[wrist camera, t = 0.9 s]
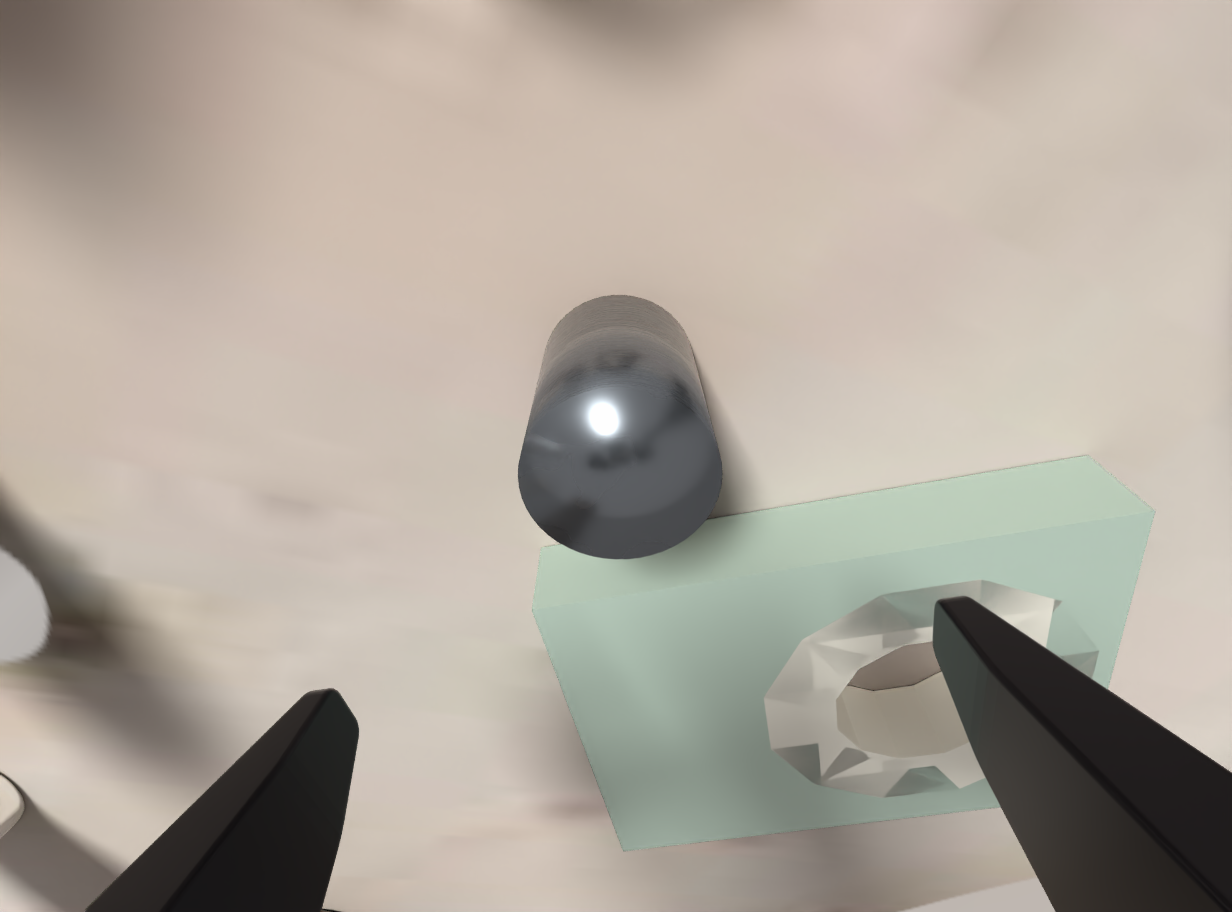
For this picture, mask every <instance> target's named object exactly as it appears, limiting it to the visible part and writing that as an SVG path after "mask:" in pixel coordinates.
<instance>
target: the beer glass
mask: <svg viewBox="0 0 1232 912" xmlns="http://www.w3.org/2000/svg"><path fill="white" fill-rule="evenodd" d="M23 812H24V801H23V798H22V795H21V794H20V792H19V791H18V789H17V788H16V787H15V786H14V785H13V784H12V783H11V782H10V781H9V780H8V779H6V778H5V777H4V776H2V775H1V774H0V838H1V837H3V836H4V835H5V834H6V833H7V832H8V831H9V830H10V829H11V828H12V827H13V826H14V825H15V824H16V822H17V821H18V820H19V819H20V817H21V816H22V814H23Z"/></svg>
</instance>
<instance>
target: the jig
mask: <svg viewBox="0 0 1232 912" xmlns="http://www.w3.org/2000/svg"><path fill="white" fill-rule="evenodd" d="M1154 514H1155V510H1154V509H1153V508H1151V507H1150V506H1149V505H1148V504H1147V503H1145V502H1144V501H1143V500H1142V499H1141V498H1139V497H1138V496H1137V495H1136V494H1135V493H1133V492H1132V491H1131V490H1130V489H1129V488H1127V487H1126V486H1125V485H1124V484H1123V483H1121V482H1120V481H1119V480H1118V479H1117V478H1115V477H1114V476H1113V475H1112V474H1111V473H1109V472H1108V471H1107V470H1106V469H1105V468H1103V467H1102V466H1101V465H1100V464H1099V463H1097V462H1096V461H1095V460H1094V459H1093V458H1091V457H1090V456H1089V455H1086V456H1080V457H1075V458H1069V459H1063V460H1057V461H1051V462H1045V463H1039V464H1033V465H1027V466H1021V467H1015V468H1009V469H1004V470H998V471H992V472H986V473H980V474H974V475H968V476H962V477H956V478H950V479H944V480H939V481H933V482H927V483H921V484H915V485H909V486H903V487H897V488H891V489H885V490H879V491H873V492H868V493H862V494H856V495H850V496H844V497H838V498H832V499H826V500H820V501H814V502H808V503H802V504H797V505H791V506H785V507H779V508H773V509H767V510H761V511H755V512H749V513H743V514H737V515H731V516H726V517H720V518H714V519H708V520H705V522H704V523H703V524H702V525H701V526H700V527H699V528H698V529H697V530H696V531H695V532H694V533H693V534H692V535H691V536H689V537H688V538H687V539H685V540H684V541H682V542H681V543H679V544H677V545H676V546H674V547H672V548H670V549H667V550H665V551H663V552H660V553H657V554H654V555H651V556H646V557H641V558H634V559H605V558H598V557H593V556H589V555H586V554H582V553H579V552H577V551H574V550H572V549H570V548H568V547H566V546H564V545H562V544H560V545H554V546H548V547H542V548H541V552H540V558H539V565H538V572H537V578H536V585H535V592H534V598H533V605H532V612H533V614H534V617H535V620H536V622H537V625H538V628H539V630H540V633H541V636H542V638H543V641H544V644H545V646H546V649H547V651H548V654H549V657H550V659H551V662H552V665H553V667H554V670H555V673H556V675H557V678H558V680H559V683H560V686H561V688H562V691H563V694H564V696H565V699H566V702H567V704H568V707H569V709H570V712H571V715H572V717H573V720H574V723H575V725H576V728H577V731H578V733H579V736H580V738H581V741H582V744H583V746H584V749H585V752H586V754H587V757H588V760H589V762H590V765H591V767H592V770H593V773H594V775H595V778H596V781H597V783H598V786H599V789H600V791H601V794H602V796H603V799H604V802H605V804H606V807H607V810H608V812H609V815H610V818H611V820H612V823H613V825H614V828H615V831H616V833H617V836H618V839H619V841H620V844H621V847H622V849H623V851H631V850H639V849H648V848H656V847H665V846H673V845H682V844H691V843H699V842H708V841H716V840H725V839H733V838H742V837H750V836H759V835H767V834H776V833H784V832H793V831H802V830H810V829H819V828H827V827H836V826H844V825H853V824H861V823H870V822H878V821H887V820H895V819H904V818H913V817H921V816H930V815H938V814H947V813H955V812H964V811H972V810H981V809H989V808H998V807H1001V806H1000V804H999V802H998V801H997V799H996V797H995V795H994V793H993V791H992V789H991V787H990V785H989V783H988V781H987V780H986V778H985V776H984V774H983V772H982V769H981V767H980V765H979V763H978V761H977V759H976V757H975V754H974V752H973V750H972V747H971V745H970V742H969V740H968V737H967V735H966V732H965V730H964V727H963V724H962V722H961V719H960V717H959V714H958V712H957V709H956V707H955V704H954V701H953V699H952V696H951V694H950V691H949V689H948V686H947V684H946V681H945V679H944V676H943V673H942V671H941V672H939V673H937V674H935V675H933V676H931V677H929V678H927V679H925V680H923V681H921V682H919V683H917V684H915V685H913V686H906V687H899V688H892V689H884V690H877V691H870V690H866V689H861V688H857V687H853V686H848V685H847V684H848V683H849V682H850V680H851V679H852V678H853V676H854V675H855V674H856V672H857V671H858V670H859V669H860V668H862V667H864V666H866V665H868V664H869V663H871V662H873V661H875V660H877V659H879V658H881V657H883V656H885V655H887V654H888V653H890V652H892V651H894V650H896V649H898V648H900V647H902V646H905V645H912V644H919V643H926V642H933V641H932V637H933V620H934V606H935V603H936V601H937V600H939V599H941V598H948V597H955V596H968V597H970V598H972V599H974V600H975V601H977V602H978V603H980V604H981V605H983V606H984V607H986V608H987V609H989V610H990V611H992V612H993V613H995V614H996V615H998V616H999V617H1001V618H1002V619H1004V620H1005V621H1007V622H1008V623H1010V624H1011V625H1013V626H1014V627H1016V628H1017V629H1019V630H1020V631H1022V632H1023V633H1025V634H1026V635H1027V636H1029V637H1030V638H1032V639H1033V640H1035V641H1036V642H1038V643H1039V644H1041V645H1042V646H1044V647H1045V648H1047V649H1048V650H1050V651H1051V652H1053V653H1054V654H1056V655H1057V656H1059V657H1060V658H1062V659H1063V660H1065V661H1066V662H1068V663H1069V664H1071V665H1072V666H1074V667H1075V668H1077V669H1078V670H1080V671H1081V672H1083V673H1084V674H1086V675H1087V676H1089V677H1090V678H1092V679H1093V680H1095V681H1096V682H1097V683H1099V684H1100V685H1102V686H1103V687H1105V688H1106V689H1108V687H1109V683H1110V679H1111V675H1112V672H1113V668H1114V664H1115V660H1116V657H1117V653H1118V649H1119V645H1120V642H1121V638H1122V634H1123V630H1124V626H1125V623H1126V619H1127V615H1128V611H1129V608H1130V604H1131V600H1132V596H1133V593H1134V589H1135V585H1136V581H1137V578H1138V574H1139V570H1140V566H1141V563H1142V559H1143V555H1144V551H1145V548H1146V544H1147V540H1148V536H1149V533H1150V529H1151V525H1152V521H1153V518H1154Z"/></svg>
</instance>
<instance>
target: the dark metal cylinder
mask: <svg viewBox="0 0 1232 912" xmlns="http://www.w3.org/2000/svg"><path fill="white" fill-rule="evenodd" d="M518 481H519V489H520V493H521V496H522V499H523V502H524V504H525V506H526V509H527V510H528V512H529V513H530V515H531V517H532V518H533V519H534V521H535V522H536V523H537V524H538V526H539V527H540V528H541V529H542V530H543V531H544V532H546V533H547V534H548V535H549V536H550V537H552V538H553V539H554V540H556V541H557V542H559V543H560V544H562V545H564V546H566V547H568V548H570V549H572V550H574V551H577V552H579V553H582V554H586V555H589V556H593V557H598V558H605V559H634V558H641V557H646V556H651V555H654V554H657V553H660V552H663V551H665V550H667V549H670V548H672V547H674V546H676V545H677V544H679V543H681V542H682V541H684V540H685V539H687V538H688V537H689V536H691V535H692V534H693V533H694V532H695V531H696V530H697V529H698V528H699V527H700V526H701V525H702V524H703V523H704V522H705V520H706V519H707V518H708V517H709V515H710V513H711V512H712V510H713V508H714V506H715V504H716V502H717V499H718V497H719V493H720V489H721V484H722V462H721V458H720V454H719V450H718V446H717V442H716V438H715V435H714V431H713V427H712V423H711V420H710V416H709V412H708V408H707V405H706V401H705V397H704V393H703V390H702V386H701V382H700V378H699V375H698V371H697V367H696V363H695V360H694V356H693V352H692V348H691V345H690V342H689V340H688V337H687V335H686V333H685V331H684V330H683V328H682V327H681V325H680V324H679V323H678V321H677V320H676V319H675V318H674V317H673V316H672V315H671V314H670V313H668V312H667V311H666V310H664V309H663V308H662V307H660V306H658V305H656V304H655V303H653V302H650V301H648V300H645V299H642V298H638V297H634V296H627V295H611V296H603V297H599V298H596V299H592V300H590V301H587V302H585V303H583V304H581V305H579V306H578V307H576V308H574V309H573V310H572V311H571V312H569V313H568V314H567V315H566V316H565V317H564V318H563V319H562V320H561V321H560V322H559V323H558V325H557V326H556V327H555V329H554V330H553V332H552V334H551V336H550V338H549V340H548V343H547V346H546V350H545V354H544V358H543V362H542V367H541V371H540V375H539V379H538V384H537V388H536V392H535V396H534V400H533V405H532V409H531V413H530V417H529V422H528V426H527V430H526V434H525V438H524V443H523V447H522V451H521V456H520V460H519V465H518Z"/></svg>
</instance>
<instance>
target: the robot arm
mask: <svg viewBox="0 0 1232 912" xmlns="http://www.w3.org/2000/svg"><path fill="white" fill-rule="evenodd" d="M932 641H933V648H934V652H935V655H936V658H937V661H938V663H939V666H940V668H941V671H942V673H943V676H944V679H945V681H946V684H947V686H948V689H949V691H950V694H951V696H952V699H953V701H954V704H955V707H956V709H957V712H958V714H959V717H960V719H961V722H962V724H963V727H964V730H965V732H966V735H967V737H968V740H969V742H970V745H971V747H972V750H973V752H974V754H975V757H976V759H977V761H978V763H979V765H980V767H981V769H982V772H983V774H984V776H985V778H986V780H987V781H988V783H989V785H990V787H991V789H992V791H993V793H994V795H995V797H996V799H997V801H998V802H999V804H1000V806H1001V808H1002V810H1003V812H1004V814H1005V816H1006V818H1007V820H1008V822H1009V824H1010V825H1011V827H1012V829H1013V831H1014V833H1015V835H1016V837H1017V839H1018V841H1019V843H1020V845H1021V846H1022V848H1023V850H1024V852H1025V854H1026V856H1027V858H1028V860H1029V862H1030V864H1031V866H1032V867H1033V869H1034V871H1035V873H1036V875H1037V877H1038V879H1039V881H1040V883H1041V884H1042V887H1043V888H1044V890H1045V892H1046V894H1047V896H1048V898H1049V900H1050V902H1051V904H1052V906H1053V908H1054V909H1055V911H1056V912H1232V772H1230V771H1229V770H1227V769H1226V768H1224V767H1223V766H1221V765H1220V764H1218V763H1217V762H1215V761H1214V760H1212V759H1211V758H1209V757H1208V756H1206V755H1205V754H1203V753H1202V752H1200V751H1199V750H1197V749H1196V748H1194V747H1193V746H1191V745H1190V744H1188V743H1187V742H1185V741H1184V740H1182V739H1181V738H1179V737H1178V736H1176V735H1175V734H1173V733H1172V732H1170V731H1169V730H1168V729H1166V728H1165V727H1163V726H1162V725H1160V724H1159V723H1157V722H1156V721H1154V720H1153V719H1151V718H1150V717H1148V716H1147V715H1145V714H1144V713H1142V712H1141V711H1139V710H1138V709H1136V708H1135V707H1133V706H1132V705H1130V704H1129V703H1127V702H1126V701H1124V700H1123V699H1121V698H1120V697H1118V696H1117V695H1115V694H1114V693H1112V692H1111V691H1109V690H1108V689H1106V688H1105V687H1103V686H1102V685H1100V684H1099V683H1097V682H1096V681H1095V680H1093V679H1092V678H1090V677H1089V676H1087V675H1086V674H1084V673H1083V672H1081V671H1080V670H1078V669H1077V668H1075V667H1074V666H1072V665H1071V664H1069V663H1068V662H1066V661H1065V660H1063V659H1062V658H1060V657H1059V656H1057V655H1056V654H1054V653H1053V652H1051V651H1050V650H1048V649H1047V648H1045V647H1044V646H1042V645H1041V644H1039V643H1038V642H1036V641H1035V640H1033V639H1032V638H1030V637H1029V636H1027V635H1026V634H1025V633H1023V632H1022V631H1020V630H1019V629H1017V628H1016V627H1014V626H1013V625H1011V624H1010V623H1008V622H1007V621H1005V620H1004V619H1002V618H1001V617H999V616H998V615H996V614H995V613H993V612H992V611H990V610H989V609H987V608H986V607H984V606H983V605H981V604H980V603H978V602H977V601H975V600H974V599H972V598H970V597H968V596H955V597H948V598H941V599H939V600H937V601H936V603H935V606H934V620H933V637H932ZM358 738H359V727H358V723H357V720H356V718H355V716H354V715H353V713H352V712H351V710H350V709H349V707H348V705H347V704H346V702H345V701H344V699H343V698H342V696H341V695H340V693H339V692H338V691H337V690H335V689H333V688H328V689H322V690H315V691H310V692H308V693H306V694H305V695H304V696H303V697H301V698H300V699H299V700H298V701H297V702H296V703H295V704H294V705H293V706H292V707H291V708H290V709H289V710H288V711H287V712H286V713H285V714H284V715H283V716H282V717H281V718H280V719H279V720H278V721H277V722H276V723H275V724H274V725H273V726H272V727H271V728H270V729H269V730H268V731H267V732H266V733H265V734H264V735H263V736H262V737H261V738H260V739H259V740H258V741H257V742H256V743H255V744H254V745H253V746H251V747H250V748H249V749H248V750H247V751H246V752H245V753H244V754H243V755H242V756H241V757H240V758H239V759H238V760H237V761H236V762H235V763H234V764H233V765H232V766H231V767H230V768H229V769H228V770H227V771H226V772H225V773H224V774H223V775H222V776H221V777H220V778H219V779H218V780H217V781H216V782H215V783H214V784H213V785H212V786H211V787H210V788H209V789H208V790H207V791H206V792H205V793H204V794H203V795H202V796H201V797H200V798H199V799H197V800H196V801H195V802H194V803H193V804H192V805H191V806H190V807H189V808H188V809H187V810H186V811H185V812H184V813H183V814H182V815H181V816H180V817H179V818H178V819H177V820H176V821H175V822H174V823H173V824H172V825H171V826H170V827H169V828H168V829H167V830H166V831H165V832H164V833H163V834H162V835H161V836H160V837H159V838H158V839H157V840H156V841H155V842H154V843H153V844H152V845H151V846H150V847H149V848H148V849H147V850H145V851H144V852H143V853H142V854H141V855H140V856H139V857H138V858H137V859H136V860H135V861H134V862H133V863H132V864H131V865H130V866H129V867H128V868H127V869H126V870H125V871H124V872H123V873H122V874H121V875H120V876H119V877H118V878H117V879H116V880H115V881H114V882H113V883H112V884H111V885H110V886H109V887H108V888H107V889H106V890H105V891H104V892H103V893H102V894H101V895H100V896H99V897H98V898H97V899H95V900H94V901H93V902H92V903H91V904H90V905H89V906H88V907H87V909H86V911H85V912H321V910H322V906H323V903H324V899H325V895H326V892H327V888H328V884H329V881H330V877H331V873H332V870H333V866H334V862H335V859H336V855H337V851H338V847H339V843H340V839H341V835H342V830H343V825H344V820H345V814H346V808H347V802H348V796H349V791H350V785H351V779H352V773H353V767H354V761H355V756H356V750H357V744H358Z"/></svg>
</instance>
